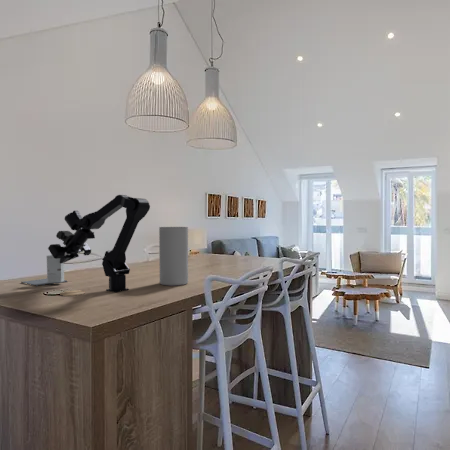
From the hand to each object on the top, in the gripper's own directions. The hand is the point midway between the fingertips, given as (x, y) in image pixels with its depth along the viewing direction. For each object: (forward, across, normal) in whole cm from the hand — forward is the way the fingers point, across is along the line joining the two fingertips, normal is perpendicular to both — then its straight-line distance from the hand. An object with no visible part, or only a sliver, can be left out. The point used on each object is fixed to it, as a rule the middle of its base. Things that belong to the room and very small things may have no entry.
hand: (60, 262), depth 162 cm
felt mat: (+16, -1, -2) cm, 16 cm away
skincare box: (+8, 0, +4) cm, 9 cm away
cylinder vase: (-24, -23, +37) cm, 50 cm away
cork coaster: (-8, +12, +21) cm, 26 cm away
